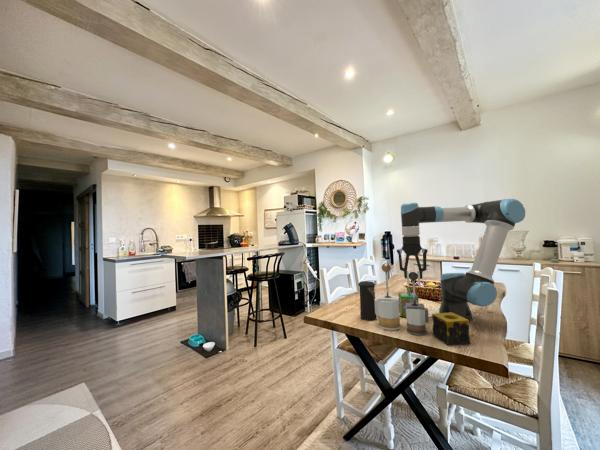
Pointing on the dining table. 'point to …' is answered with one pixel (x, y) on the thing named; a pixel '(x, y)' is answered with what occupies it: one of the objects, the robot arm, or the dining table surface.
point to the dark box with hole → (451, 328)
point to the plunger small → (413, 277)
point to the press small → (416, 319)
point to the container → (367, 300)
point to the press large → (388, 312)
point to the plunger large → (386, 269)
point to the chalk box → (405, 301)
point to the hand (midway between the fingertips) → (413, 285)
